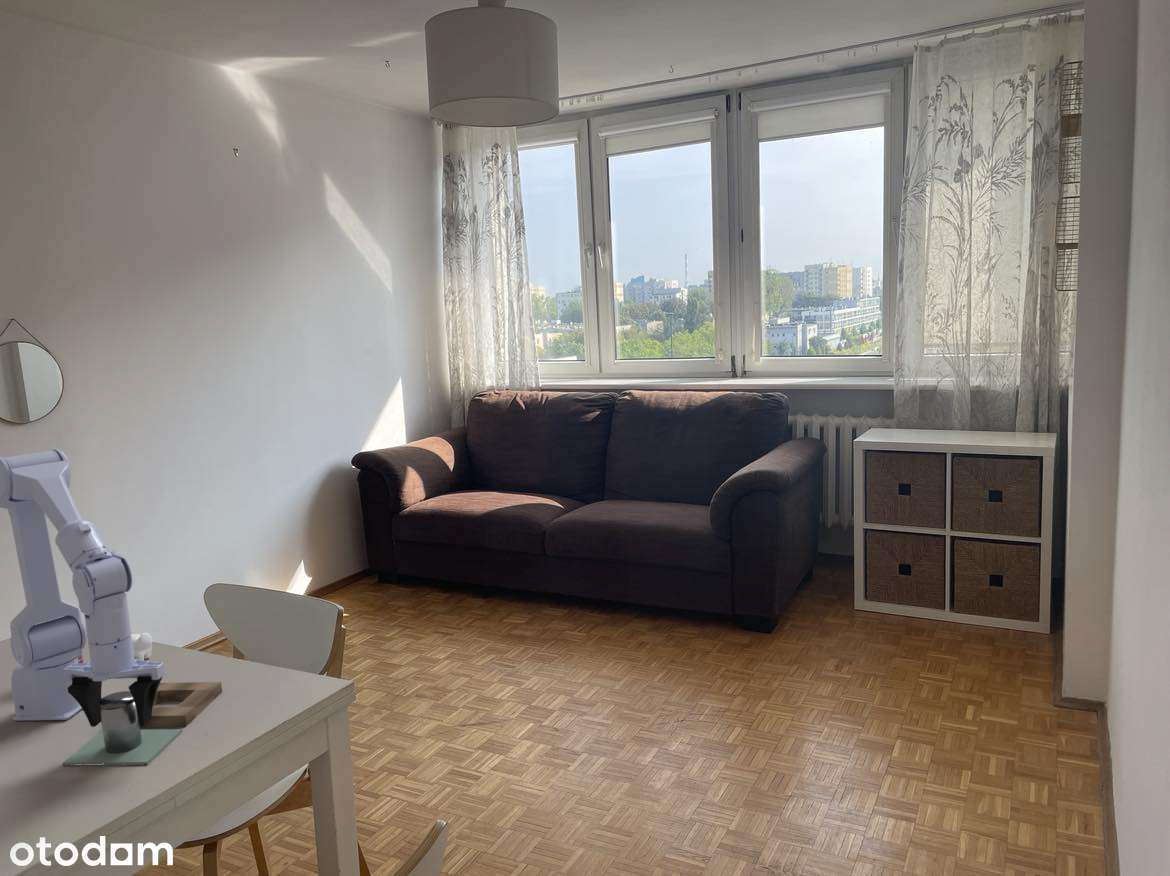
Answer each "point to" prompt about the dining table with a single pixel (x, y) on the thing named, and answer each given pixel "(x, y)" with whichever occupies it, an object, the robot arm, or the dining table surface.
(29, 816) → the dining table surface
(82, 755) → the mat
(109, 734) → the metal cylinder
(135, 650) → the elephant figurine
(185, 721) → the collar
